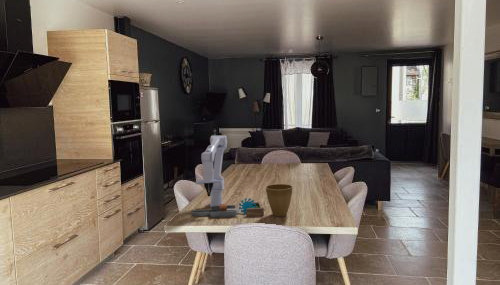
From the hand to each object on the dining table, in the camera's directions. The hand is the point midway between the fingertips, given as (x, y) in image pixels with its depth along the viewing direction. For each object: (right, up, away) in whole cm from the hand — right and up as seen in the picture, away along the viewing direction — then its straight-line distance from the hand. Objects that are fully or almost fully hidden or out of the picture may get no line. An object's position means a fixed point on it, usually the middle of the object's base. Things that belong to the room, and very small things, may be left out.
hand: (209, 196), depth 217 cm
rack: (+26, -9, -2) cm, 28 cm away
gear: (+23, -9, -2) cm, 25 cm away
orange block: (+12, -9, -3) cm, 16 cm away
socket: (+3, -10, -4) cm, 11 cm away
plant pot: (+40, -10, -8) cm, 42 cm away
